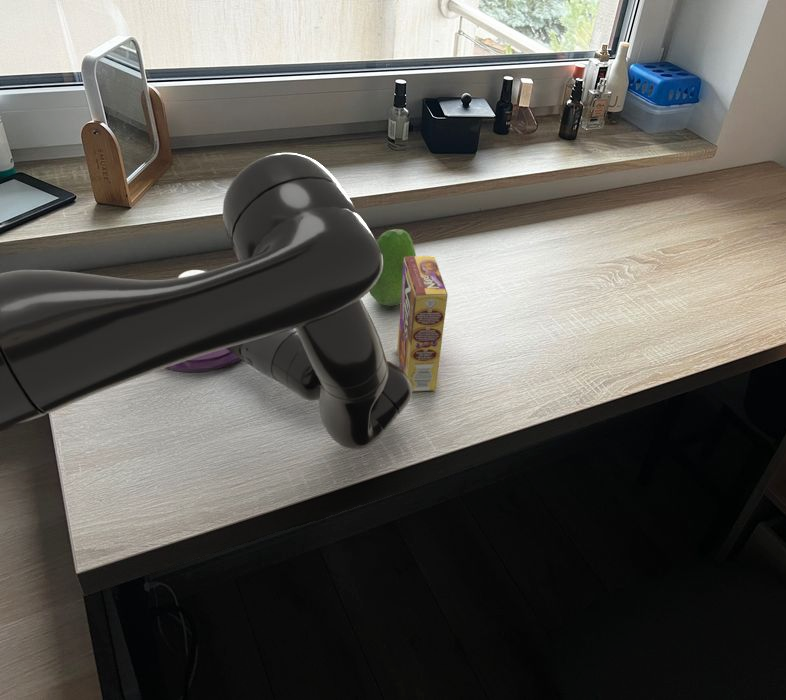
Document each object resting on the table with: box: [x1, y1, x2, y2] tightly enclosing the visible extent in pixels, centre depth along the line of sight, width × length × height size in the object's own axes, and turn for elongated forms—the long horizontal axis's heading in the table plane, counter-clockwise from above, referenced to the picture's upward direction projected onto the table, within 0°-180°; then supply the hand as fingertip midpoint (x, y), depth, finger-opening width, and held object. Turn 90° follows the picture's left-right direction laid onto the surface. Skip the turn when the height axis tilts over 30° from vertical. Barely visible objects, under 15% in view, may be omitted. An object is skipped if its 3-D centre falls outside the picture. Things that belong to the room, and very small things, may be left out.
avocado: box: [368, 228, 417, 307], centre depth 105 cm, size 8×8×12 cm
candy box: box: [396, 255, 449, 393], centre depth 92 cm, size 9×4×15 cm, turn 13°
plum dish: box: [165, 348, 242, 373], centre depth 98 cm, size 16×16×1 cm
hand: (183, 284), depth 95 cm, fingers open, 5 cm apart
